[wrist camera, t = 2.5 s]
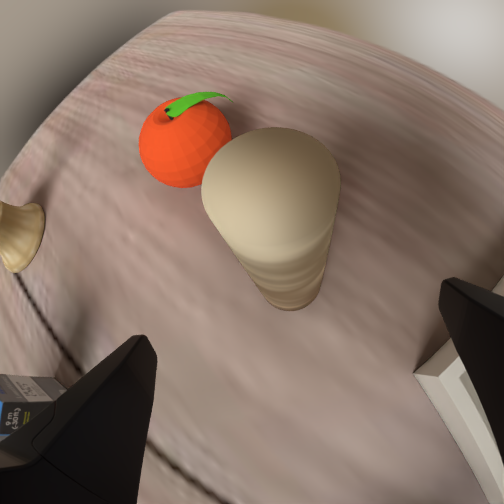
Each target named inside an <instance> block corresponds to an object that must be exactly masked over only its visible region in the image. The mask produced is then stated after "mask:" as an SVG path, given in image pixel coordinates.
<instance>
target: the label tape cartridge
mask: <svg viewBox="0 0 504 504" xmlns="http://www.w3.org/2000/svg"><path fill="white" fill-rule="evenodd" d="M65 391H67V389H66V388H65V387H64V386H63V385H61V384H60V383H59V382H58V381H57V380H56V379H55V378H52V377H31V376H16V375H6V374H0V441H2V440H3V439H5V438H6V437H7V436H9V435H10V434H12V433H13V432H14V431H16V430H17V429H19V428H20V427H21V426H23V425H24V424H26V423H27V422H28V421H30V420H31V419H32V418H34V417H35V416H36V415H38V414H39V413H40V412H41V411H42V410H44V409H45V408H46V407H47V406H49V405H50V404H51V403H52V402H53V401H55V400H57V398H58V397H59V396H61V395H62V394H63V393H64V392H65Z"/></svg>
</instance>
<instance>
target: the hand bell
mask: <svg viewBox="0 0 504 504" xmlns="http://www.w3.org/2000/svg"><path fill="white" fill-rule="evenodd" d="M44 224H45V217H44V212H43V210H42V207H41V206H40V205H38V204H36V203H28V204H25V205H23V206H20V207H18V206H12V205H9V204H6V203H4V202H2V201H0V255H1V256H2V260H3V263H4V265H5V267H6V268H7V269H8V270H9V271H10V272H12V273H18V272H20V271H22V270H24V269H25V268H26V267H27V266H28V265H29V263H30V262H31V261H32V259H33V258H34V256H35V254H36V252H37V250H38V248H39V246H40V243H41V240H42V235H43V231H44Z"/></svg>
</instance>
